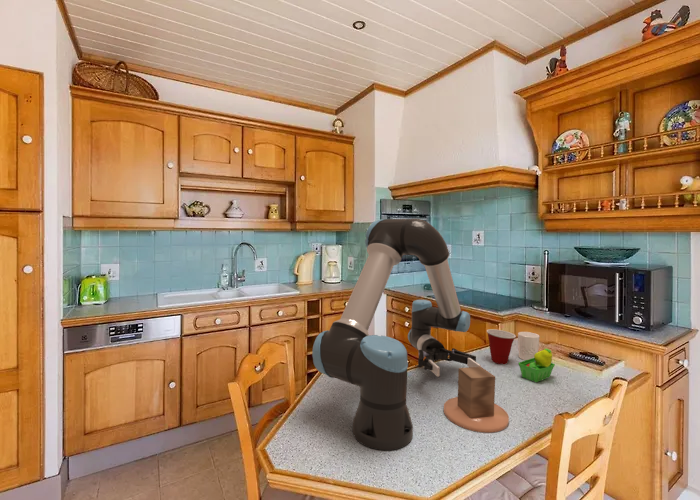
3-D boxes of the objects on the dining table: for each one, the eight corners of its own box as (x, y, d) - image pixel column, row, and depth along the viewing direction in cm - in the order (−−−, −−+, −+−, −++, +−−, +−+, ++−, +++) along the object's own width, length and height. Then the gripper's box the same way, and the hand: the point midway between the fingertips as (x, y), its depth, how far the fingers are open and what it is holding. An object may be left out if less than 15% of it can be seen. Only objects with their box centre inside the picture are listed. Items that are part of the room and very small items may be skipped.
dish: (462, 435, 86) (462, 430, 86) (433, 402, 103) (434, 398, 103) (522, 429, 89) (523, 424, 89) (485, 398, 106) (485, 394, 106)
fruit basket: (534, 370, 129) (535, 340, 128) (558, 379, 121) (560, 347, 121) (516, 376, 123) (517, 345, 122) (541, 386, 115) (543, 353, 115)
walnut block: (470, 418, 92) (471, 378, 91) (457, 405, 99) (458, 368, 98) (493, 416, 93) (495, 376, 92) (479, 403, 100) (480, 366, 99)
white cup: (539, 357, 143) (540, 333, 142) (537, 363, 136) (538, 338, 136) (518, 353, 147) (519, 330, 146) (516, 359, 140) (516, 335, 140)
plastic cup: (518, 368, 131) (519, 337, 130) (488, 365, 133) (489, 335, 132) (511, 358, 141) (512, 329, 141) (483, 356, 143) (484, 327, 143)
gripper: (461, 356, 128) (495, 380, 107) (398, 359, 124) (420, 385, 103) (462, 336, 128) (496, 356, 107) (398, 339, 123) (420, 360, 103)
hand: (459, 370), depth 105 cm, fingers open, 13 cm apart
